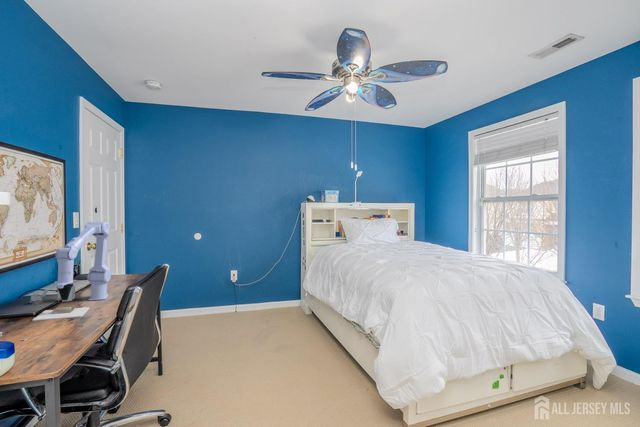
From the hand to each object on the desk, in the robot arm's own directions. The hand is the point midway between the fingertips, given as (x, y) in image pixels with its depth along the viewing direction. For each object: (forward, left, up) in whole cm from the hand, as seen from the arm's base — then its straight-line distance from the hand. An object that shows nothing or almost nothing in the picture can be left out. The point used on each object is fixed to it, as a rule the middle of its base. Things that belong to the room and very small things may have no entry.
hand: (64, 299), depth 149 cm
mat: (+2, 0, -6) cm, 7 cm away
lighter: (-21, -16, -7) cm, 27 cm away
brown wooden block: (-6, 0, -5) cm, 8 cm away
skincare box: (-25, -6, -7) cm, 27 cm away
